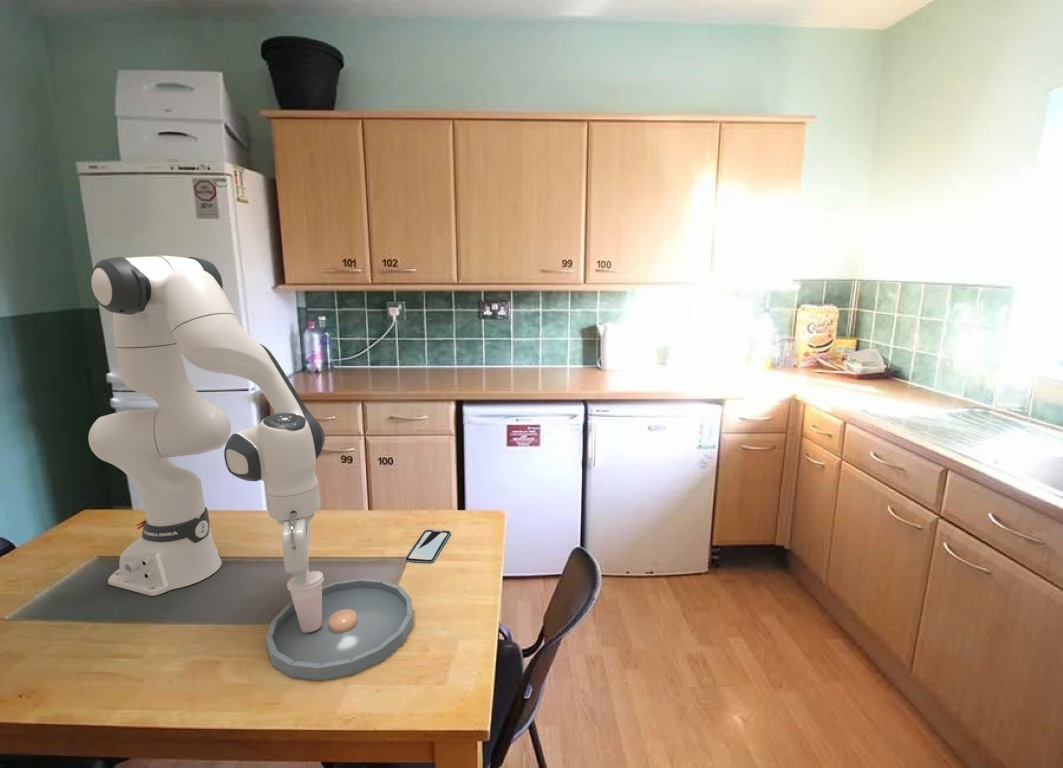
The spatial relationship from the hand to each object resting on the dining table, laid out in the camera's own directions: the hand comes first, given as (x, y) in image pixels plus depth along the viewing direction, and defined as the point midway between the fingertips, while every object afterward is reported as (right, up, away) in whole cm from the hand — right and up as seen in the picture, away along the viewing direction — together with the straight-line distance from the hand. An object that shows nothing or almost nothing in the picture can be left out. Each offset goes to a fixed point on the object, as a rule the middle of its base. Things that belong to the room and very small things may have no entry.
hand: (302, 568), depth 101 cm
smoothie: (+2, -11, 0) cm, 11 cm away
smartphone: (+18, -6, +31) cm, 37 cm away
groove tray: (+7, -12, +1) cm, 14 cm away
